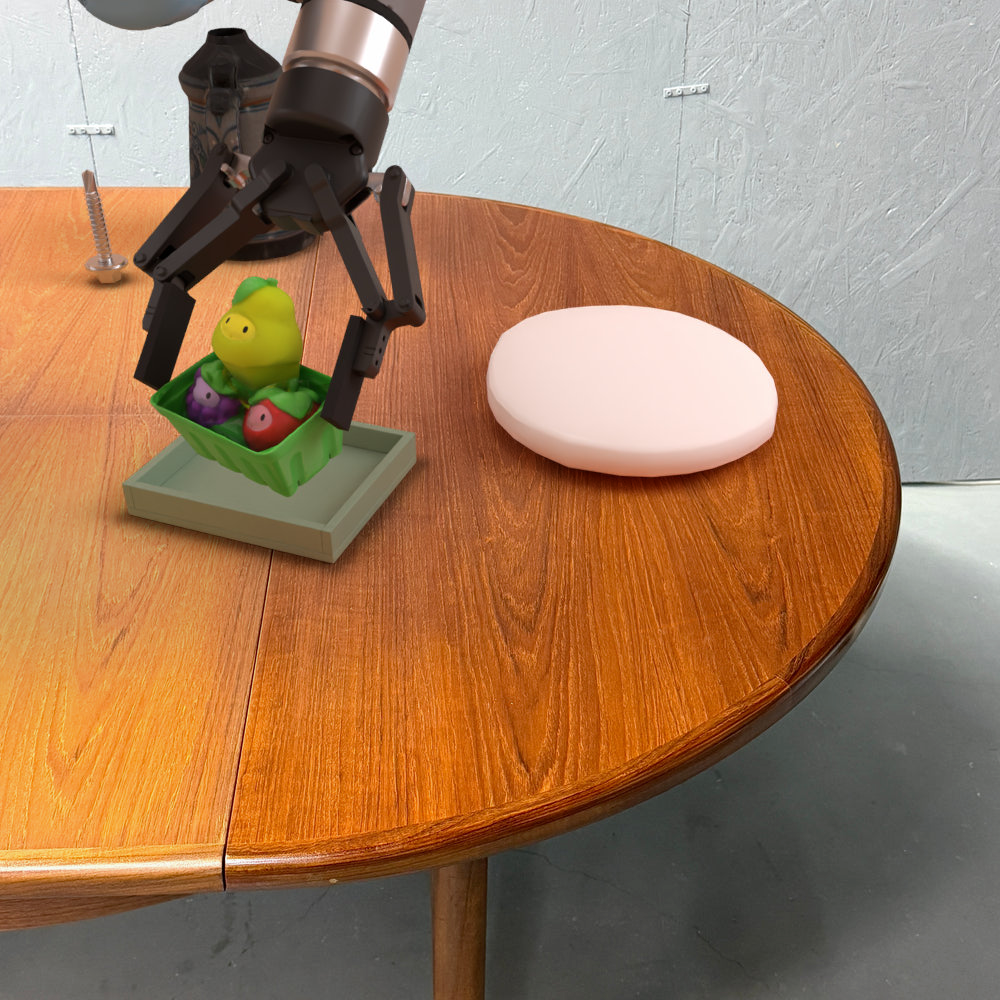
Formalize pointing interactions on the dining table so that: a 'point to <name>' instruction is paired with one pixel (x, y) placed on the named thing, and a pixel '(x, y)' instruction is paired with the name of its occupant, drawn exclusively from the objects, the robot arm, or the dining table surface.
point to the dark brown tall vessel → (234, 118)
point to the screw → (101, 236)
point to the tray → (276, 494)
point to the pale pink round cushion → (630, 391)
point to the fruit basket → (255, 395)
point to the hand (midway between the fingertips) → (239, 404)
